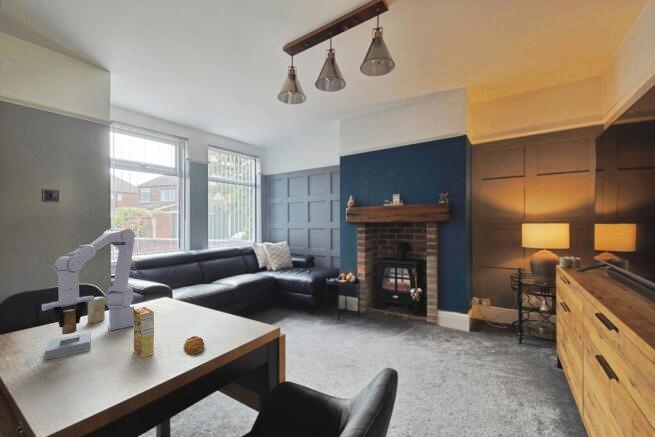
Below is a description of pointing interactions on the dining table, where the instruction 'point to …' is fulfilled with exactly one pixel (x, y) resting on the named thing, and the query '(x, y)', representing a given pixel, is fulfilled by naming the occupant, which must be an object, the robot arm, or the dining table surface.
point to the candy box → (143, 332)
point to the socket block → (68, 345)
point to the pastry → (194, 345)
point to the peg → (69, 321)
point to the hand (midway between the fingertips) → (69, 324)
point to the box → (96, 310)
